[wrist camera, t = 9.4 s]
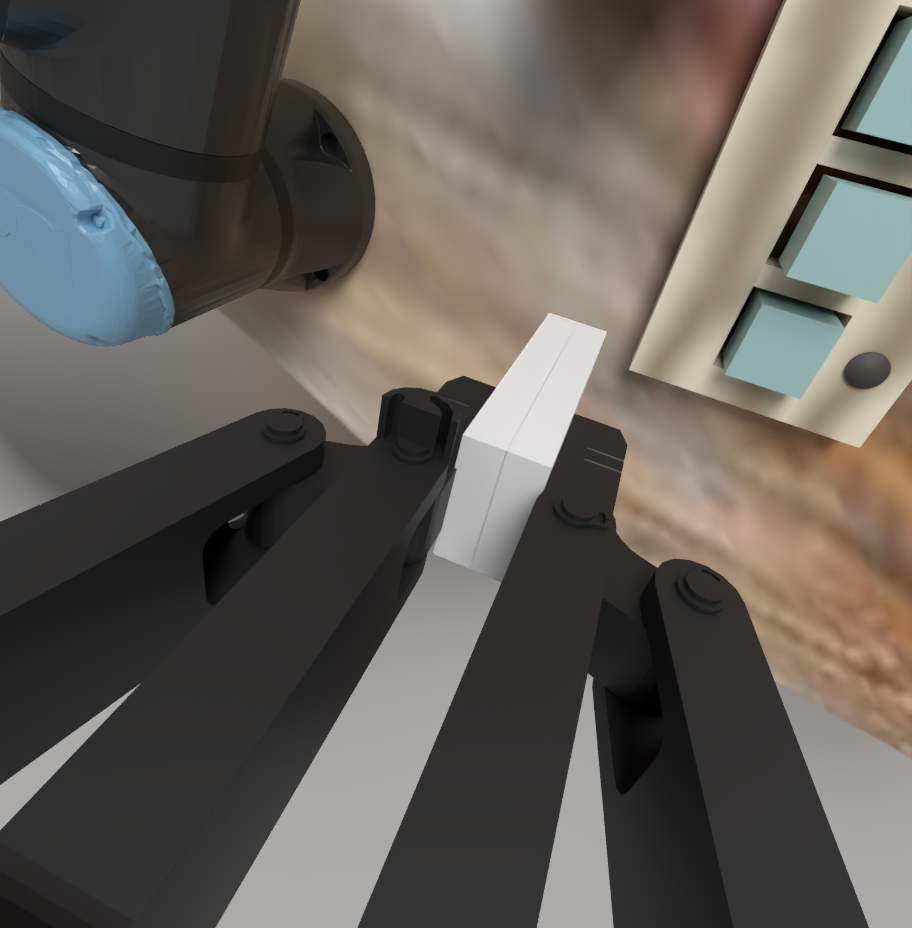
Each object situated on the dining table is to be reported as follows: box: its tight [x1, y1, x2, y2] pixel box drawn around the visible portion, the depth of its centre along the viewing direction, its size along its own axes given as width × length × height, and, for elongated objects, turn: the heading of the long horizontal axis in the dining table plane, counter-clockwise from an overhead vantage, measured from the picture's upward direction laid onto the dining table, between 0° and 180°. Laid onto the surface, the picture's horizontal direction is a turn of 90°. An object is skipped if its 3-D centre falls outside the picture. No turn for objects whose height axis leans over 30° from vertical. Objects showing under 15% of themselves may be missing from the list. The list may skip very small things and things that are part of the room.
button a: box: [723, 287, 845, 399], centre depth 37 cm, size 5×5×4 cm
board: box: [629, 0, 912, 448], centre depth 34 cm, size 16×24×3 cm, turn 167°
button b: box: [778, 175, 912, 303], centre depth 31 cm, size 5×5×4 cm
